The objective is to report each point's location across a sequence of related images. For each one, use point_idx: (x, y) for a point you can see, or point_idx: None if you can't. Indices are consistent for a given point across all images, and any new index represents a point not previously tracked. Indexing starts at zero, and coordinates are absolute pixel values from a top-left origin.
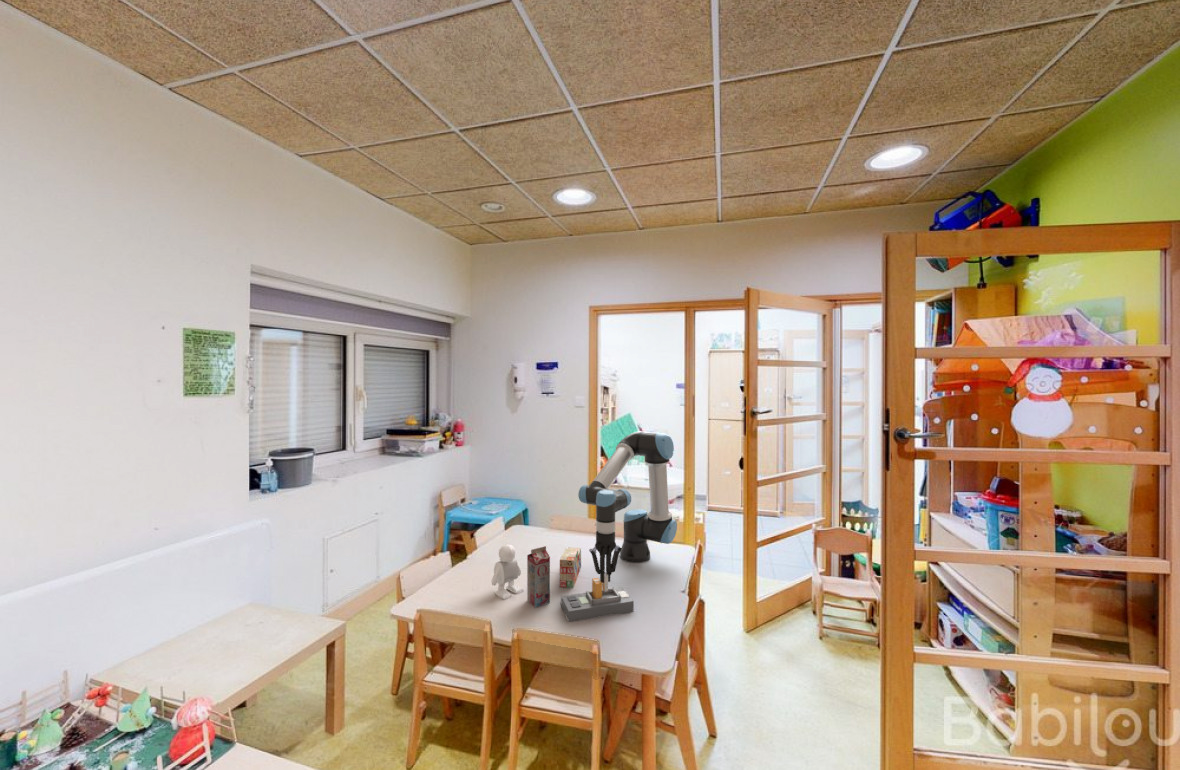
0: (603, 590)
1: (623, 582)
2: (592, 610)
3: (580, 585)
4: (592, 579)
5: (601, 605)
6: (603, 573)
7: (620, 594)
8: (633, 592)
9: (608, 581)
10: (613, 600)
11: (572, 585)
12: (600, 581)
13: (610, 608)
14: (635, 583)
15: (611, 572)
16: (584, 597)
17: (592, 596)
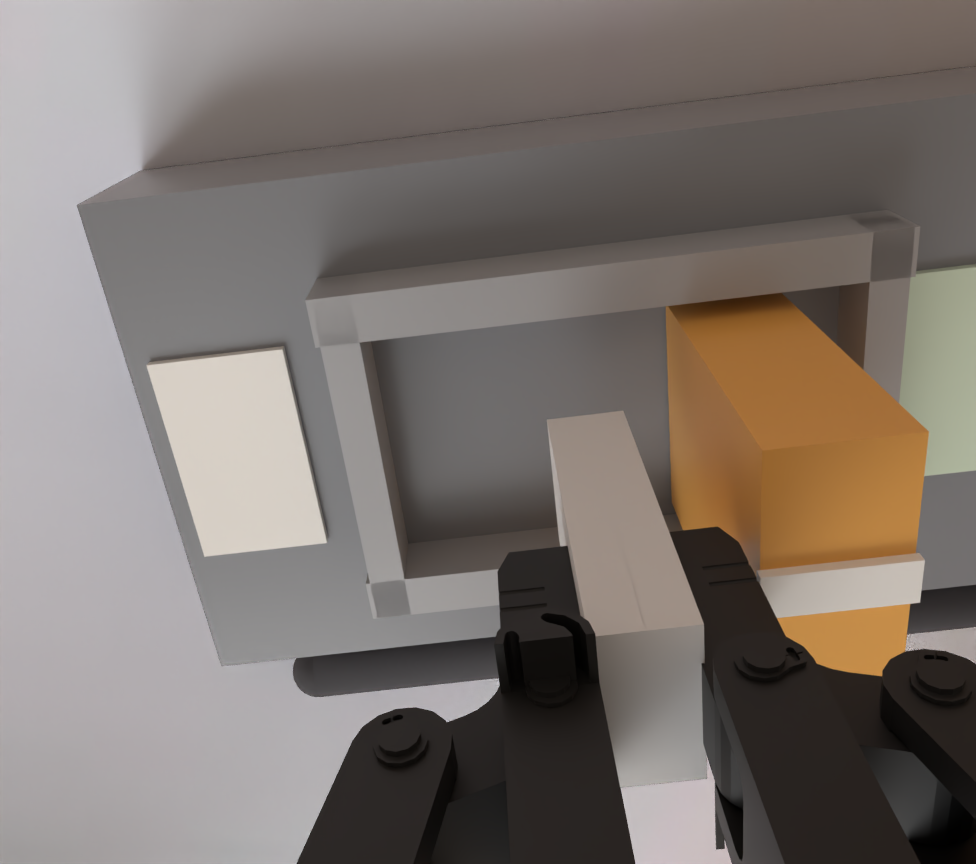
0: None
1: (187, 859)
2: (885, 97)
3: (716, 859)
4: None
5: (720, 149)
6: (764, 662)
7: (291, 452)
8: (84, 649)
9: (545, 554)
10: (460, 266)
11: None
12: (770, 536)
13: (540, 135)
14: (37, 826)
15: (469, 718)
16: None
17: None
